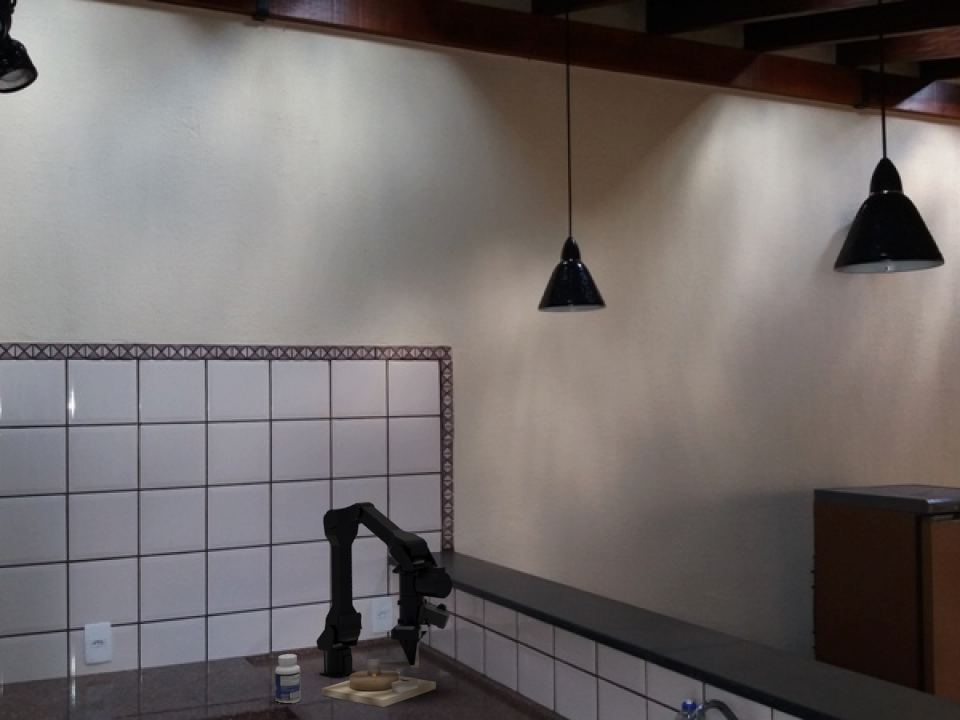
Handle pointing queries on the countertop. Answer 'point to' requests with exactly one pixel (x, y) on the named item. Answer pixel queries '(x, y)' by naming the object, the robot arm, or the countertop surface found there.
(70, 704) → the countertop surface
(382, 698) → the stand
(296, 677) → the pill bottle
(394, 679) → the crank handle
